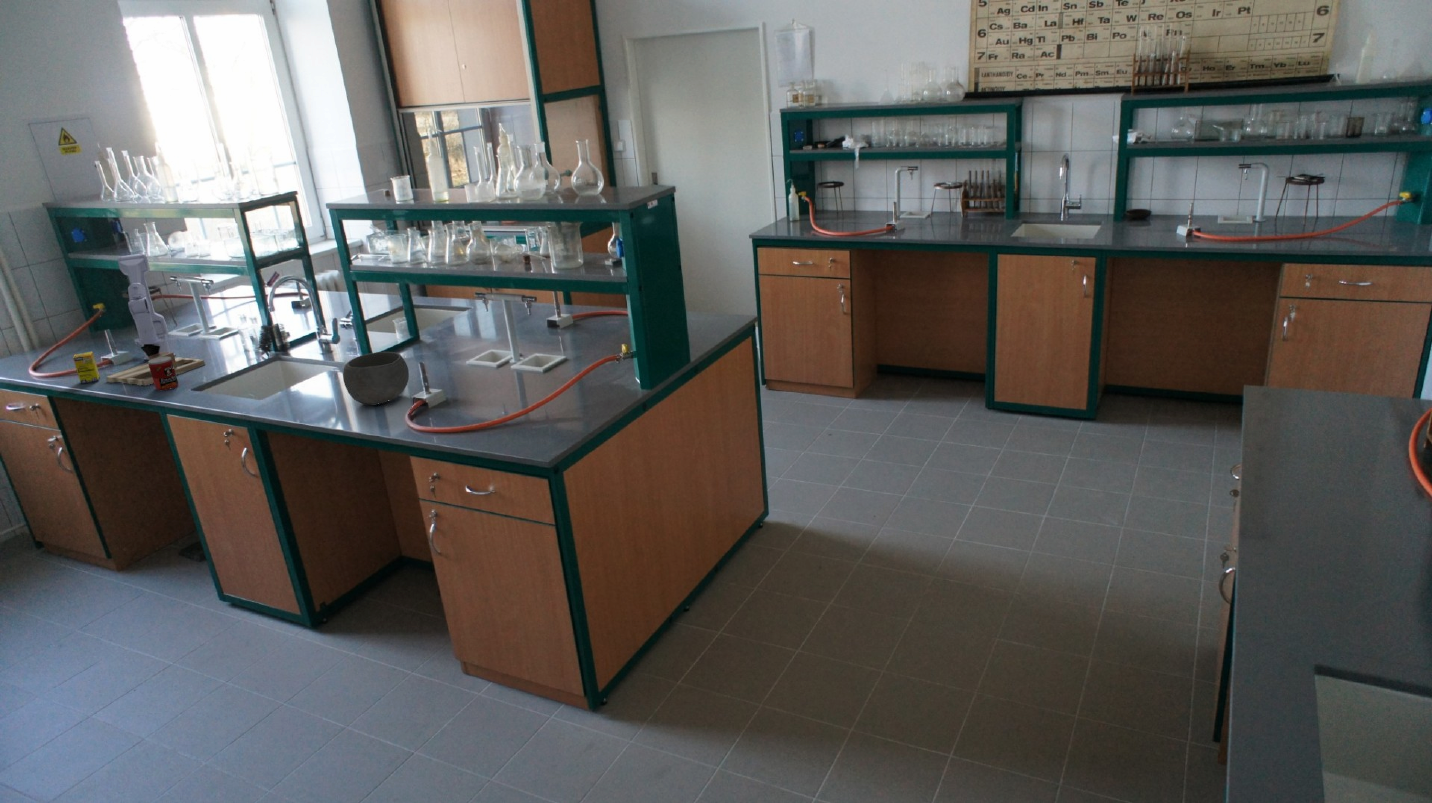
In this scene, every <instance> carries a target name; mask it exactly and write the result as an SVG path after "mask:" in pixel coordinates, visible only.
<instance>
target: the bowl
mask: <svg viewBox="0 0 1432 803" xmlns="http://www.w3.org/2000/svg"><path fill="white" fill-rule="evenodd" d="M409 376H410V372H409V367H408V364H407V362H406V361H405V359H404V357H403V356H402V355H401V354H400V353H398V352H394V351H377V352H370V353H366V354H361V355H359V356H357V357H354V358H352V359H351V360H349V361H347V363H345V365H344V368H343V374H342V379H343V384H344V386H345V389H346V390H347V393H348V394H349V396H350V397H351V398H352V399H353V400H354V401H356V402H358V403H359V404H362V405H366V406H373V405H372V404H378V403H382V404H384V403H383V402H386V401H388V400H391V401H393V400H394V398H395V399H396V398H397V397H399V396H400V395H401V394H402V393H403V392H404V391H405V389H406V388H407V386H408V383H409V378H410V377H409ZM392 399H393V400H392ZM386 403H387V402H386Z"/></svg>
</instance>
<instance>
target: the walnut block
mask: <svg viewBox="0 0 1432 803" xmlns="http://www.w3.org/2000/svg"><path fill="white" fill-rule="evenodd" d="M174 354H175V353H174V352H171V351H170V352H160V353H157V354H155V355H152V356H149V359H150V360H151V359H153V358H157V357H164V356H168V357H171V359H172V362H173V366H174V368H177V364H176V361H175V357H176V356H174Z"/></svg>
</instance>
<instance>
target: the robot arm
mask: <svg viewBox="0 0 1432 803" xmlns="http://www.w3.org/2000/svg"><path fill="white" fill-rule="evenodd" d="M116 260H117V264H118V267H119V270H120V271H121V273H122V274H123V275H124V276H128V280H129V283H130V284H129V286H128V287H127V292H128V298H129V301H128V302H127V303H128V309H129V312H130V314H131V316H132V319H133V320H134V323H135V326H136V330H137V334H138V337H139V338H135V339H133V340H134V345H141V346H140V349H141V350H142V351H143V353H144V356H145V357H143V360H148V361H149V360H150V359H149V356H152V355H155V354H157V353H160V352H171V350H170V347H169V343H168V340H167V336H166V335H168V334H169V330H168V329H169V328H168V326H167V322H166V320H165V317H164V315H162V314H160V313H158V312H156V311H155V308H154V305H153V301H152V297H151V293H150V290H149V286H148V282H147V280H146V277H147V276H146V275H147V274H148V273H149V272H151V271H150V270H151V267H150V265H149V259H148V257H147V254H146V253H144V252H142V253H135V254H128V255H121V256H120V255H118V256H117V259H116ZM174 357H176V353H174Z"/></svg>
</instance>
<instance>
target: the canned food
mask: <svg viewBox="0 0 1432 803" xmlns="http://www.w3.org/2000/svg"><path fill="white" fill-rule="evenodd" d="M147 363H148V364H149V368H150V371H151V375H152V378H153V381H154V384H153V385H154V388H155V389H156V390H157V391H160V390H162V391H166V390H165V389H169V390H171V389H170V388H173V389H176V388H177V387H178V386H179V381H178V379H177V375H176V373H175V369H174V366H173V362H172V359H171V357H168V356H164V357H157V358H153V359H151V360H148V361H147Z"/></svg>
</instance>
